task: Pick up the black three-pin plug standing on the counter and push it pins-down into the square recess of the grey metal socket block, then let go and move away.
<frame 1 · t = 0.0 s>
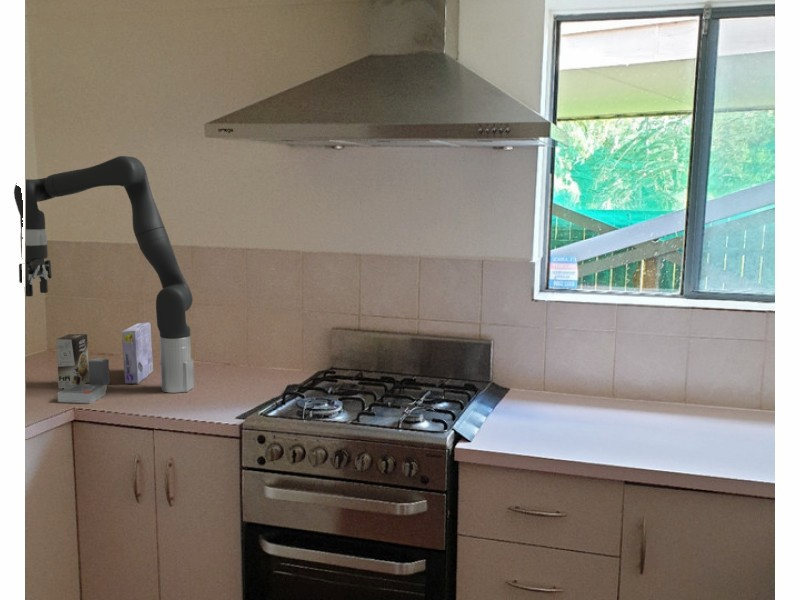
hand: (36, 294, 244), 29 cm above the countertop, tool pointing down, fingers open, 8 cm apart
plug: (99, 388, 244), on the countertop
coffee box: (74, 386, 248), on the countertop
socket: (82, 398, 233), on the countertop
cake pan box: (139, 378, 259), on the countertop
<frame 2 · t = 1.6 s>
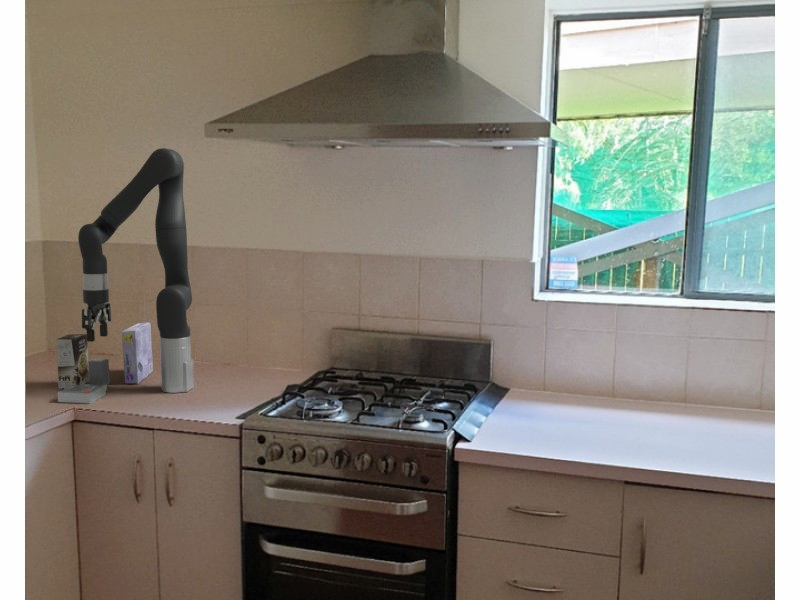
hand: (97, 338, 241), 16 cm above the countertop, tool pointing down, fingers open, 8 cm apart
nothing on the countertop moved.
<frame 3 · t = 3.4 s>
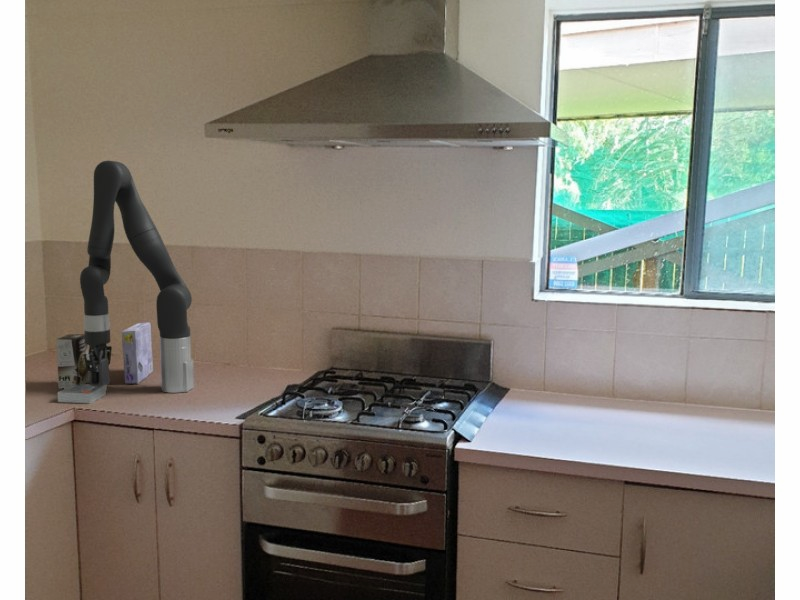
hand: (99, 381, 243), 3 cm above the countertop, tool pointing down, fingers closed on plug, 4 cm apart
plug: (99, 388, 244), on the countertop, touching gripper
everything else where it was.
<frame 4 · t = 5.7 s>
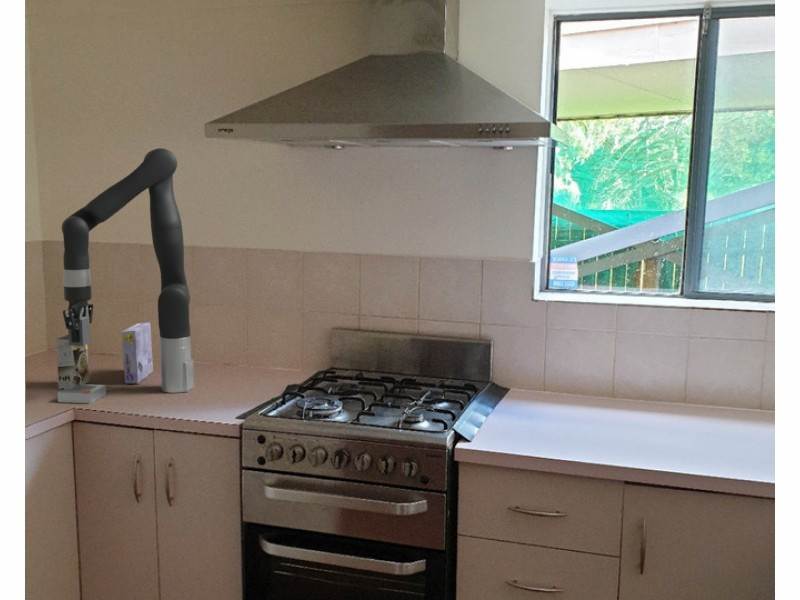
hand: (79, 340, 230), 18 cm above the countertop, tool pointing down, fingers closed on plug, 4 cm apart
plug: (80, 348, 231), point 15 cm above the countertop, touching gripper
everything else where it was.
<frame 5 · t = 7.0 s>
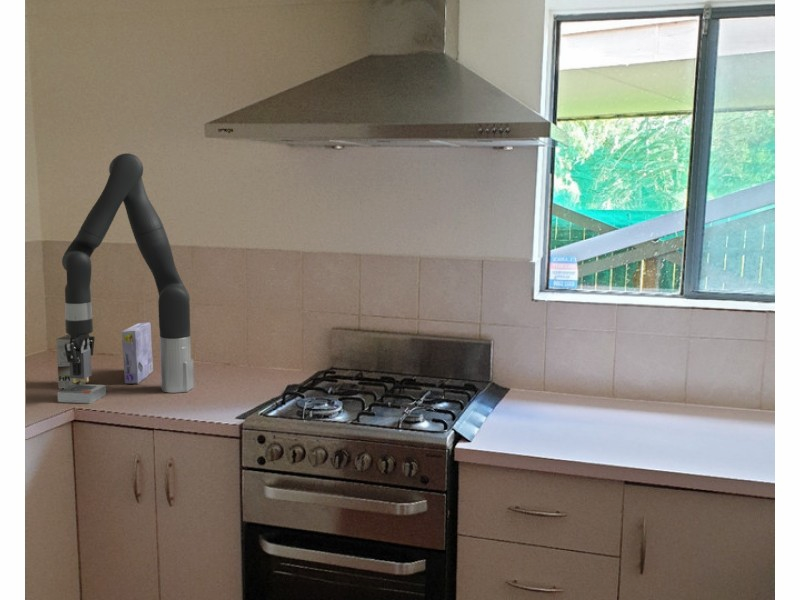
hand: (81, 372, 232), 8 cm above the countertop, tool pointing down, fingers closed on plug, 4 cm apart
plug: (81, 381, 232), point 5 cm above the countertop, touching gripper
everything else where it was.
when the fingers open (4 cm above the countertop, at t = 8.1 s): plug drops 2 cm, resting in socket.
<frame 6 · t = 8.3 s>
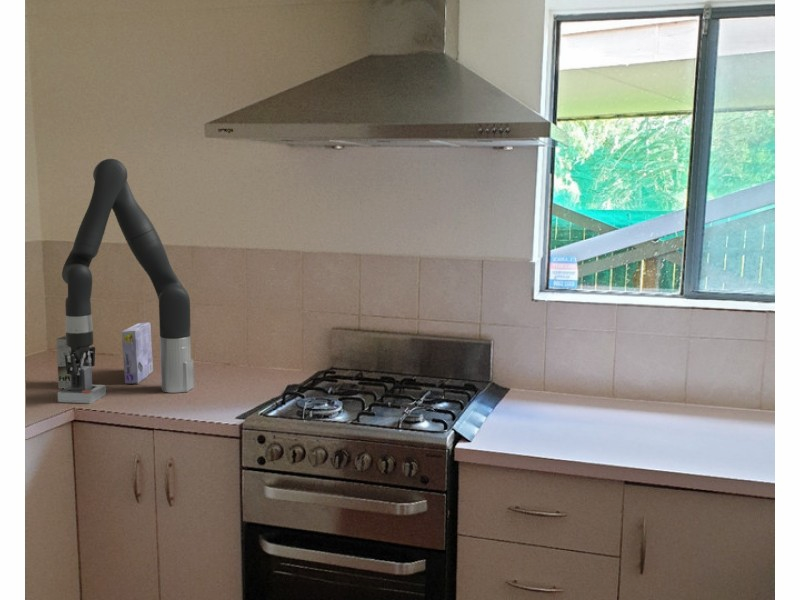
hand: (81, 384, 232), 4 cm above the countertop, tool pointing down, fingers open, 6 cm apart
plug: (82, 398, 233), resting in socket
everything else where it was.
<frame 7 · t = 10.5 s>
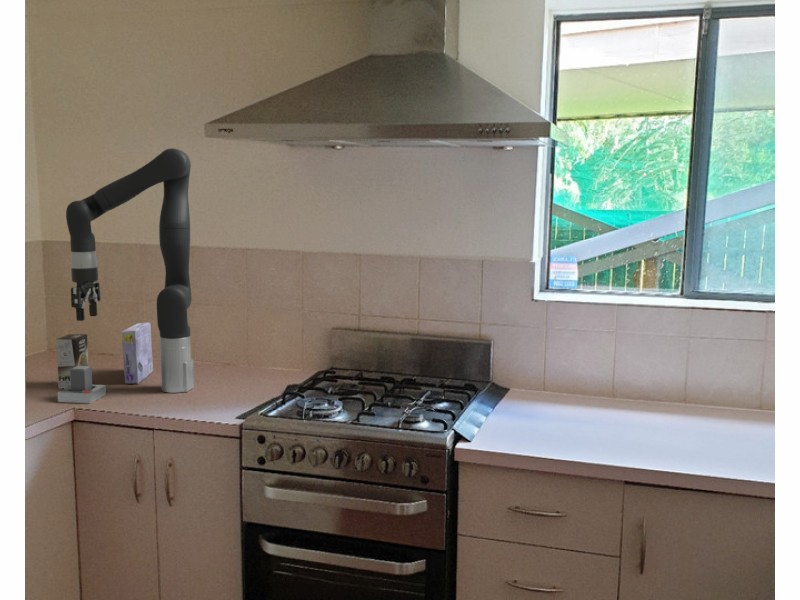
hand: (87, 318, 238), 23 cm above the countertop, tool pointing down, fingers open, 8 cm apart
nothing on the countertop moved.
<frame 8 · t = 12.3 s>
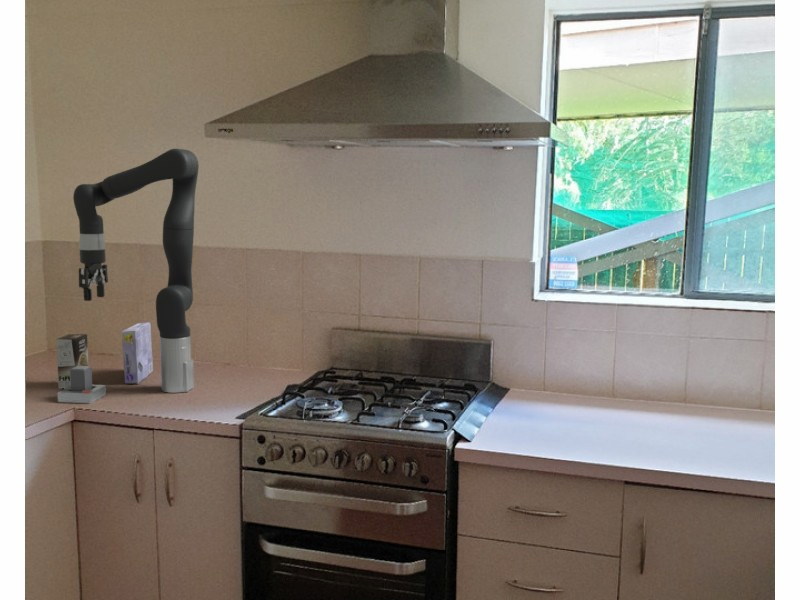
hand: (94, 298, 245), 28 cm above the countertop, tool pointing down, fingers open, 8 cm apart
nothing on the countertop moved.
at the end: plug 0.1 cm off-centre on the socket, point 0.0 cm above the socket's base; plug tilted 0°; the gripper is holding nothing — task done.
